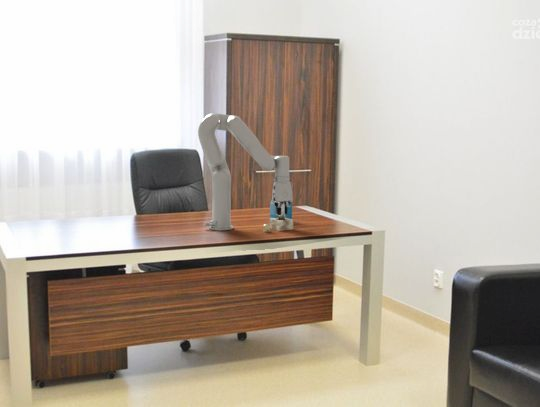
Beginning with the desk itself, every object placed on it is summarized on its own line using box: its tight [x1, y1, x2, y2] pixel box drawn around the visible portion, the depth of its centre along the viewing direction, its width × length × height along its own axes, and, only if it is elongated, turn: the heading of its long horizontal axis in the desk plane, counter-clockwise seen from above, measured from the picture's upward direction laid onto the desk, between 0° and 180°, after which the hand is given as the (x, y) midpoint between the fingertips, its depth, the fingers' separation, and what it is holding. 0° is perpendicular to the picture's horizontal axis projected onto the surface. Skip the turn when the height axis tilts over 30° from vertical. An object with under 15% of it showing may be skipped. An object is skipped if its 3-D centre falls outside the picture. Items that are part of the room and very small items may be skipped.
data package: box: [269, 201, 293, 220], centre depth 395 cm, size 12×4×12 cm, turn 126°
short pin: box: [262, 223, 271, 234], centre depth 369 cm, size 3×3×4 cm
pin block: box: [269, 218, 294, 232], centre depth 378 cm, size 9×9×5 cm
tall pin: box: [279, 202, 285, 220], centre depth 377 cm, size 3×3×10 cm
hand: (281, 214), depth 377 cm, fingers closed on tall pin, 3 cm apart
